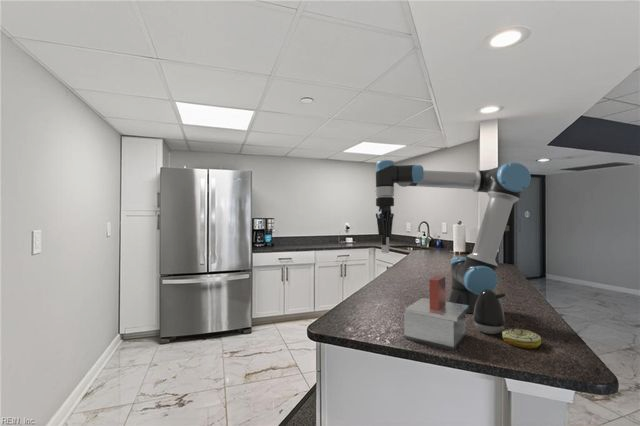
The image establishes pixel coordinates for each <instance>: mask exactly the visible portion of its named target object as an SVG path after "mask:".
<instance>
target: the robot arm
mask: <svg viewBox="0 0 640 426" xmlns="http://www.w3.org/2000/svg"><path fill="white" fill-rule="evenodd" d="M531 180H532V177H531V172H530V170H529V169H528V167H526V166H525V165H523V164H522V163H519V162H506V163H504V164H502V165H499V166H497V167H494V168H490V169H484V170H478V169H476V170H475V171H474V172H473V171H472V172H471V171H467V172H466V171H447V170H424V166H423V165H420V164H409V165H408V164H407V165H403V164H402V165H401V164H400V165H395V162H394V160H391V159H390V160H387V159H384V160H379V161H377V162H376V163H375V197H376V198H375V206H376V207H377V208H378V212H377V213H375V217H376V223H377V224H376V225H377V230H378V231H377V232H378V237H379V238H381V253H382V254H383V253H385V254H389V253H390V238H391V237H392V232H393V220H394V217H395V213H392V208H391V207H394V205H395V198H394V197H395V184H396V185H398V186H399V187H402V188H403V187H404V188H406V187H419V188H420V187H421V188H423V187H424V188H440V189H442V188H443V189H458V190H459V189H461V190H462V189H463V190H472V191H473V192H474V193H475V192H477V193H486V194H487V196H488V197H489V199H488V202H487V206H486V209H485V212H484V215H483V218H482V222H481V224H480V228H479V230H478V234H477V236H476V240H475V244H474V246H473V249H472V253H470V254H467V255H466V257H452V258H451V261H450V273H451V275H450V277H451V278H450V283H451V288H450V293H449V296H448V298H447V302H451V303H457V304H464V305H469V310H468V311H467V312H466V313H467V314H473V312H474V307H475V303H476V300H477V298H478V296H479V294H480V293H481V292H482V291H483V290H486V289H489V290H492V291H494V290H495V289H496V288H497V285H498V283H499V281H498V280H499V279H498V274H497V273H496V272H497V269H498V267H499V265H498V262H497V261H496V258H497V255H498V252H499V249H500V245H501V242H502V239H503V237H504V233H505V230H506V227H507V224H508V221H509V217H510V214H511V212H512V208H513V205H514V204H515V203H516V202H518V201H520V198H521V195H522V191H525V190H526V189H527V188H528V187H529V186H530V183H531Z"/></svg>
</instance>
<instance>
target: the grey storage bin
mask: <svg viewBox="0 0 640 426" xmlns="http://www.w3.org/2000/svg"><path fill="white" fill-rule="evenodd" d="M403 314H404V316H403V318H404V320H403V321H404V324H403V325H404V328H403V329H404V331H403V332H404V336H403V337H404V339H406V340H410V341H414V342H418V343H422V344H427V345H429V346H435V347H439V348H443V349H448V350H450V351H455V350H456V349H457V347H458V345H459V344H460V343H461V342H462V340H463V339H464V337H465V336H466V333H467V332H466V331H467V330H466V329H467V328H466V327H467V326H466V325H467V321H466V318H467V317H466V313H465V314H464V315H463V316H462V317H461V318H460V319H459V320H458V322H456V321H451V320H445V319H440V318H435V317H430V316H425V315H419V314H414V313H409V312H405V311H404V312H403Z"/></svg>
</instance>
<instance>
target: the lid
mask: <svg viewBox="0 0 640 426" xmlns="http://www.w3.org/2000/svg"><path fill="white" fill-rule="evenodd" d="M428 284H429V298H425V297H421V298H419V299H418V300H416V301H415V302H413V303H411V304H410V305H408V306H407V307H405V311H404V312H409V313H414V314H419V315H425V316H430V317H435V318H440V319H445V320H451V321H456V322H458V320H459V319H460V318H461V317H462V316H463V315H464V314H465V313H466V312H467V311H468V310H469V305H464V304H457V303H451V302H448V301H446V299H447V297H446V295H447V294H446V276H445V275H444V276H443V275H435V276H433V277H430V279H429V283H428Z"/></svg>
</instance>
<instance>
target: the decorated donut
mask: <svg viewBox="0 0 640 426" xmlns="http://www.w3.org/2000/svg"><path fill="white" fill-rule="evenodd" d="M501 334H502V339H503V341H504V342H505V343H508V345H511V346H514V347H519V348H521V349H530V350H533V349H535V350H536V349H537V348H539V346H541V344H542V337H541V336H540V335H539V334H537V333H535V332H534V331H531V330H526V329H522V328H508V329H504V330H502V331H501Z"/></svg>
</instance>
